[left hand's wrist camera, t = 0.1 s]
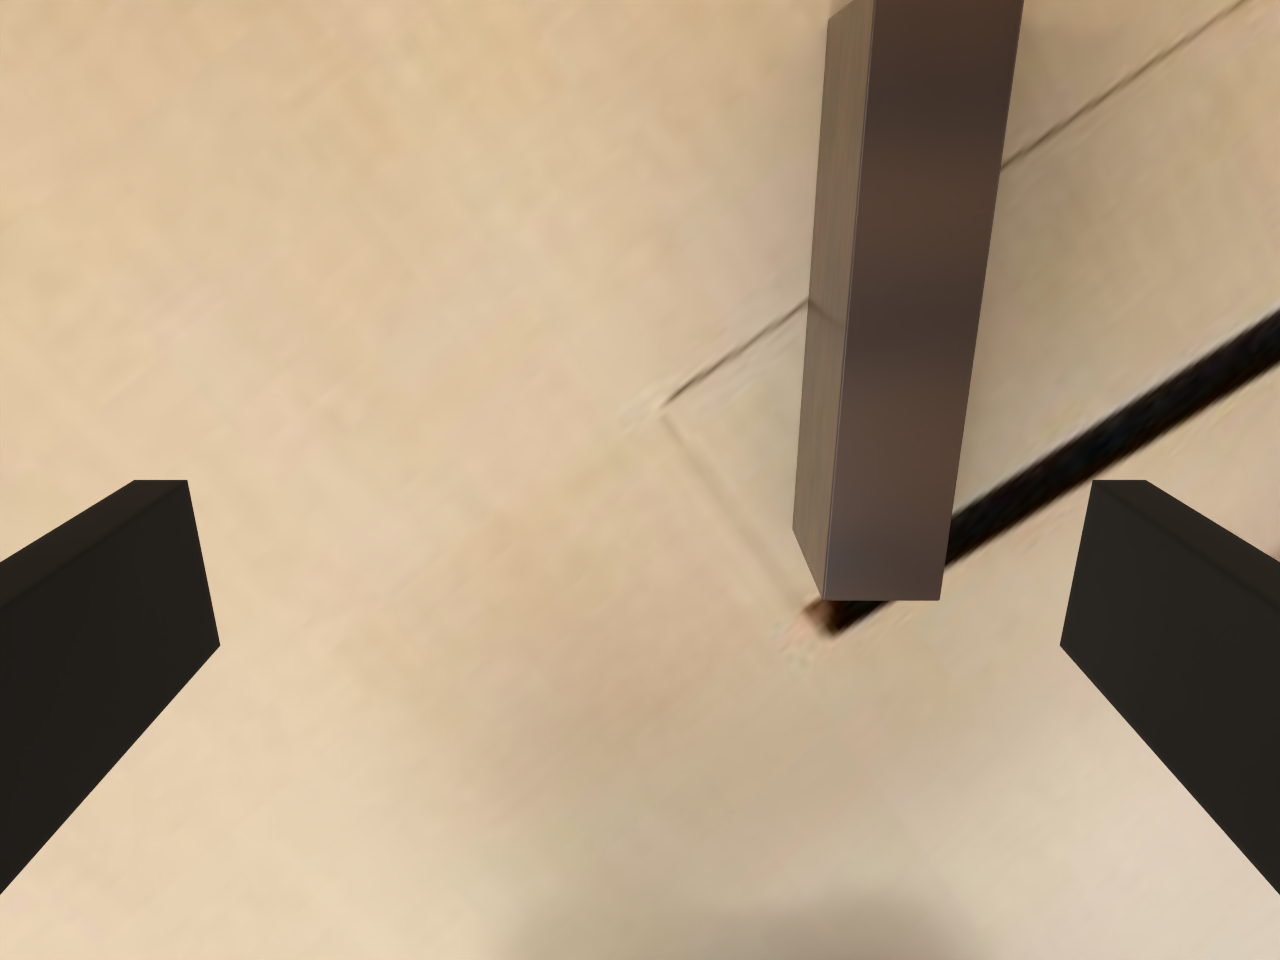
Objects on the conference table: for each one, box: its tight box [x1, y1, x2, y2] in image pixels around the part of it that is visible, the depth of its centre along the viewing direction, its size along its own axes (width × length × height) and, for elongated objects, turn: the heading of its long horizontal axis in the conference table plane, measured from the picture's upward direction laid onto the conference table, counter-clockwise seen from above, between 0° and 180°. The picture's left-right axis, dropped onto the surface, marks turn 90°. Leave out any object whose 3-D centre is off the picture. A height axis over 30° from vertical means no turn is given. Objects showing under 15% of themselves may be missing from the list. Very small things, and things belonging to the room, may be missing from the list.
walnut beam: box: [793, 0, 1024, 601], centre depth 35 cm, size 23×5×8 cm, turn 0°
